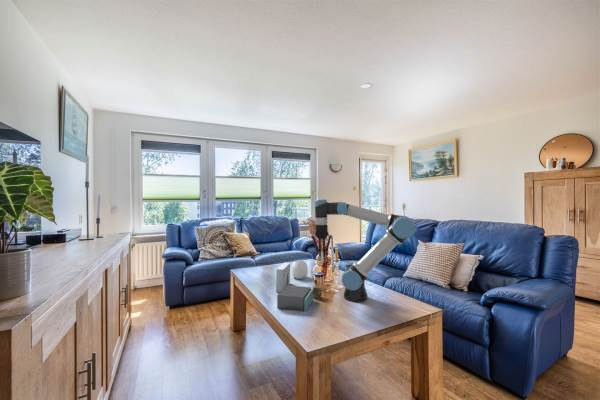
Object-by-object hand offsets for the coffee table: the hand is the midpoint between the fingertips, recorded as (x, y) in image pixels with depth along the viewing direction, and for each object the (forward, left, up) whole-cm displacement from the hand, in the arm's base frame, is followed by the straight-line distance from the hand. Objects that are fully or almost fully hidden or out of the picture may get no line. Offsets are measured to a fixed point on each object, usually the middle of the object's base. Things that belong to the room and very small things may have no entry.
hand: (322, 262), depth 165 cm
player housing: (+16, +7, -25) cm, 30 cm away
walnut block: (+5, -7, -25) cm, 26 cm away
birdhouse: (+14, +7, -24) cm, 29 cm away
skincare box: (+33, -21, -25) cm, 46 cm away
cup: (+28, -47, -25) cm, 60 cm away
